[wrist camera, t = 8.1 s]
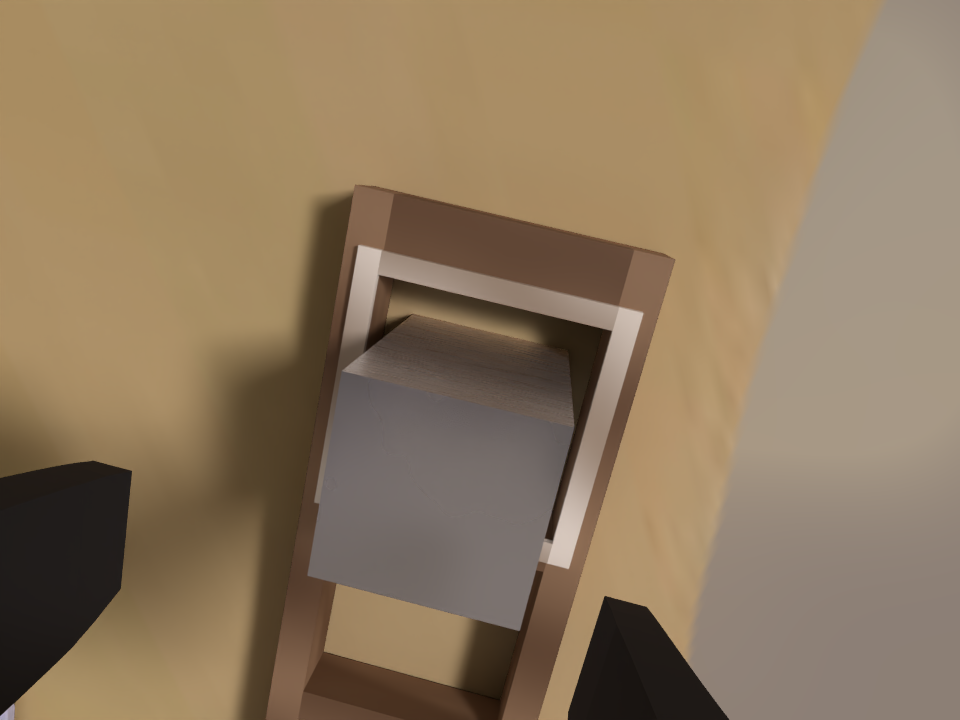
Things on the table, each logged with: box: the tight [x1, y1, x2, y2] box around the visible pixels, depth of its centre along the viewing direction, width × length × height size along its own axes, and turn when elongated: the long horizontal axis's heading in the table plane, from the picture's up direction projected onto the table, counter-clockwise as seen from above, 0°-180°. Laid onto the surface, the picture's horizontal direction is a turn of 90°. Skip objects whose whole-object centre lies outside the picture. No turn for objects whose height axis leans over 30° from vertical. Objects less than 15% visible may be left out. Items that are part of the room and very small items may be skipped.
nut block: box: [307, 314, 574, 631], centre depth 16 cm, size 4×4×6 cm
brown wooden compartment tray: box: [265, 185, 675, 720], centre depth 20 cm, size 24×8×2 cm, turn 167°
